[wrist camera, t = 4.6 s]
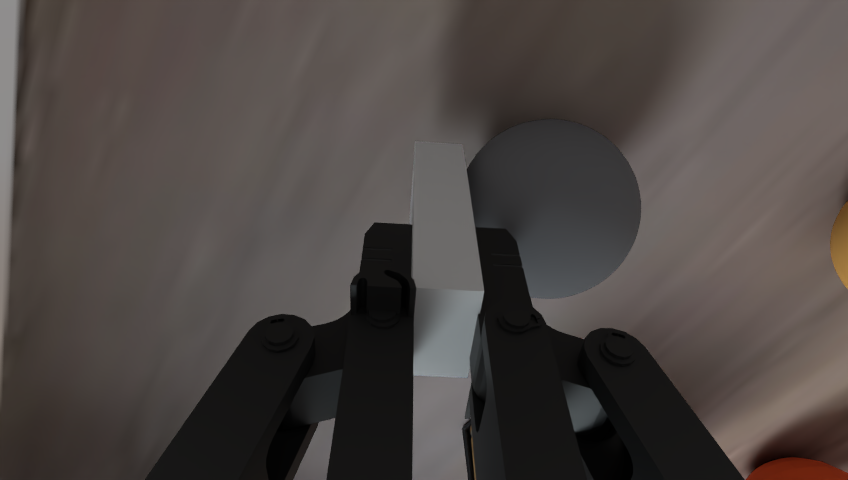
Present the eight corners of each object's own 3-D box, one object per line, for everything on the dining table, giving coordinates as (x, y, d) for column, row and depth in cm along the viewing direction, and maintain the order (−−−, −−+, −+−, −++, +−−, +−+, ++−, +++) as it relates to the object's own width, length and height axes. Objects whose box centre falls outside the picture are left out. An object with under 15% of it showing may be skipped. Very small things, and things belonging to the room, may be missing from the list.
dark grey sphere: (433, 229, 20) (463, 339, 15) (455, 85, 16) (501, 173, 12) (571, 231, 21) (636, 334, 16) (617, 95, 17) (712, 180, 13)
